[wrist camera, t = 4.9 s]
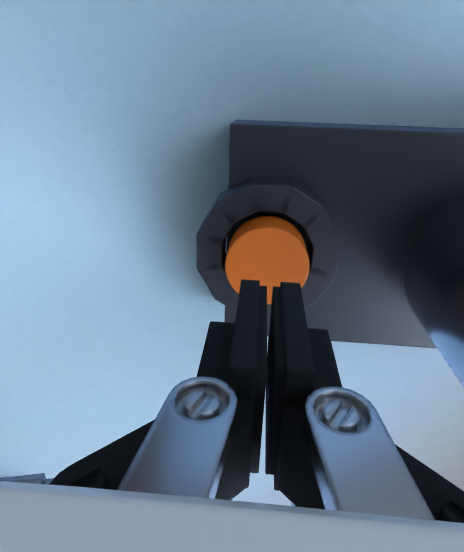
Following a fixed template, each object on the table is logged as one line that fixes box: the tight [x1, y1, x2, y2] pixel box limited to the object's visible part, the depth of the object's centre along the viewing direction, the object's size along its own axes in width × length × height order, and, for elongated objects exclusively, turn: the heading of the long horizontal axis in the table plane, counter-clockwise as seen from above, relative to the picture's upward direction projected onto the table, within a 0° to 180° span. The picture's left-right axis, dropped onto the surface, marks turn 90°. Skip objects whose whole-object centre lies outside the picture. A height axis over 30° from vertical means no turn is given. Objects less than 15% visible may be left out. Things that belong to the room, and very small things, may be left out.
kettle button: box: [225, 216, 309, 304], centre depth 18 cm, size 4×4×2 cm
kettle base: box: [197, 120, 464, 348], centre depth 20 cm, size 17×11×5 cm, turn 88°
